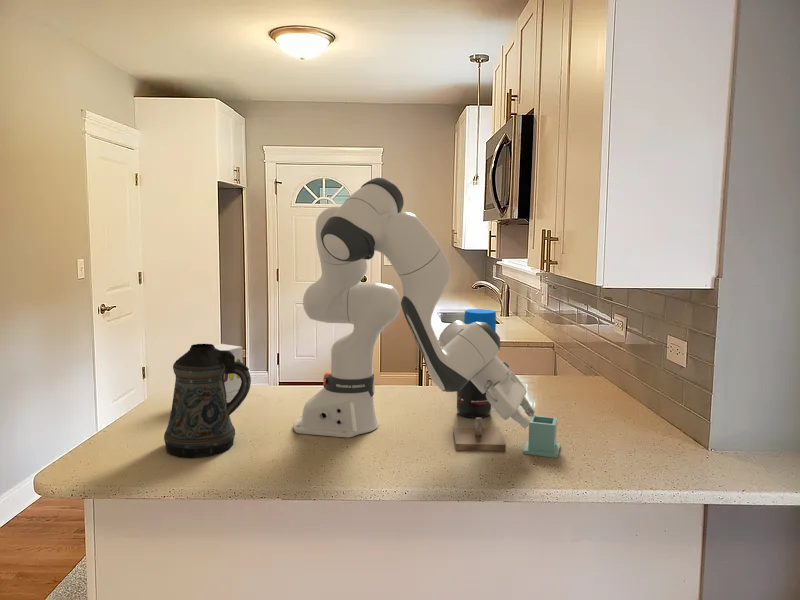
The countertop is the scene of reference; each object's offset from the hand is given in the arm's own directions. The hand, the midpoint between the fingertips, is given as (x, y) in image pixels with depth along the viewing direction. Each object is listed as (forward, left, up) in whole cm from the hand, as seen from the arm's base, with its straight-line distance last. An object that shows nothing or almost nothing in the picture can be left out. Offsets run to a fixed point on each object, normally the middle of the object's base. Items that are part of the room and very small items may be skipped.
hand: (530, 420), depth 148 cm
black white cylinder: (-11, +28, -8) cm, 31 cm away
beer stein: (-79, -1, -8) cm, 79 cm away
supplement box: (-87, +36, -8) cm, 94 cm away
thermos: (-6, +64, -8) cm, 65 cm away
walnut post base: (-12, +5, -7) cm, 15 cm away
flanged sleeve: (+3, 0, -7) cm, 8 cm away
